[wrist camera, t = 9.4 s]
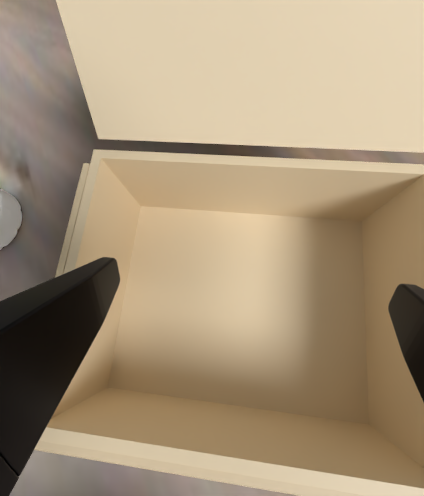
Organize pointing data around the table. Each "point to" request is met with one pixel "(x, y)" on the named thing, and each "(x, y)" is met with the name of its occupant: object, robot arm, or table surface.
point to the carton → (249, 322)
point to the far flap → (253, 71)
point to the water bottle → (9, 217)
